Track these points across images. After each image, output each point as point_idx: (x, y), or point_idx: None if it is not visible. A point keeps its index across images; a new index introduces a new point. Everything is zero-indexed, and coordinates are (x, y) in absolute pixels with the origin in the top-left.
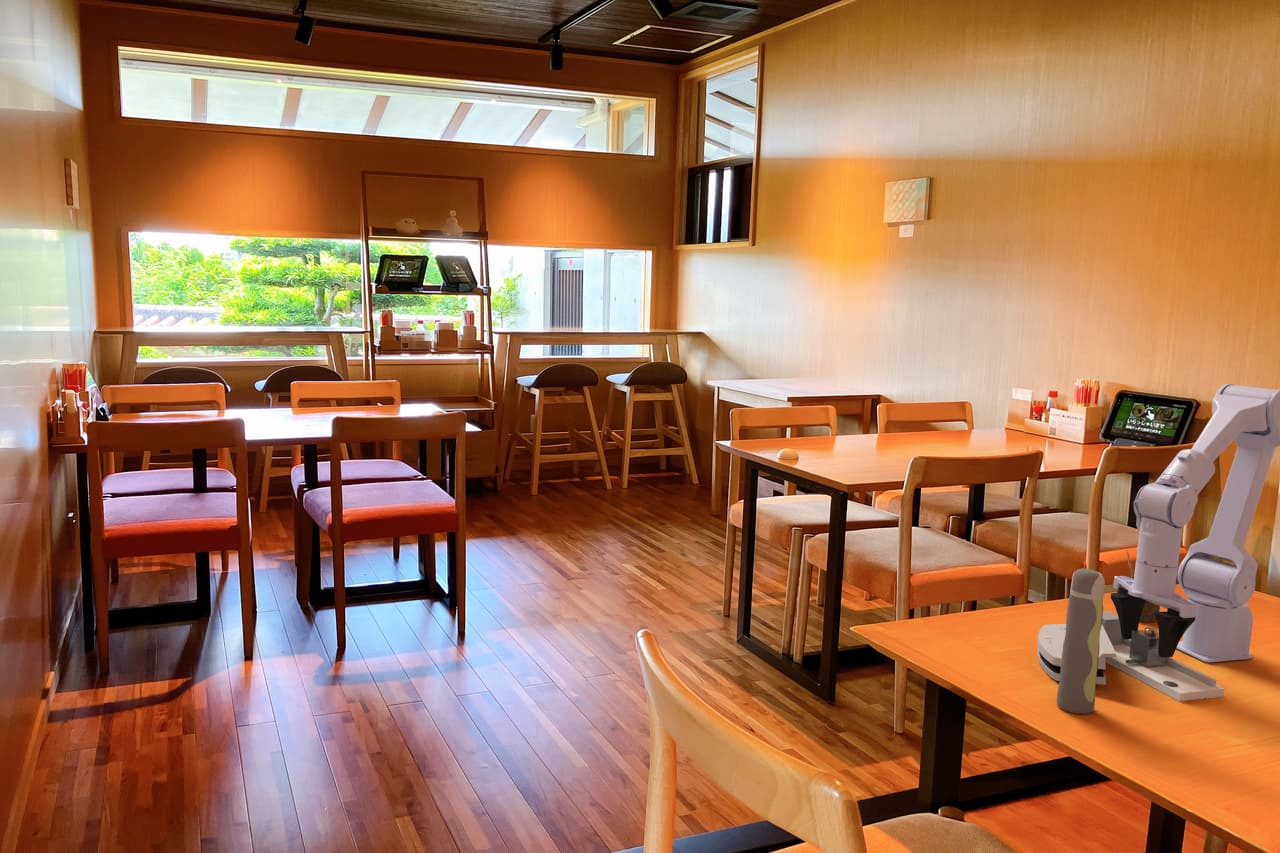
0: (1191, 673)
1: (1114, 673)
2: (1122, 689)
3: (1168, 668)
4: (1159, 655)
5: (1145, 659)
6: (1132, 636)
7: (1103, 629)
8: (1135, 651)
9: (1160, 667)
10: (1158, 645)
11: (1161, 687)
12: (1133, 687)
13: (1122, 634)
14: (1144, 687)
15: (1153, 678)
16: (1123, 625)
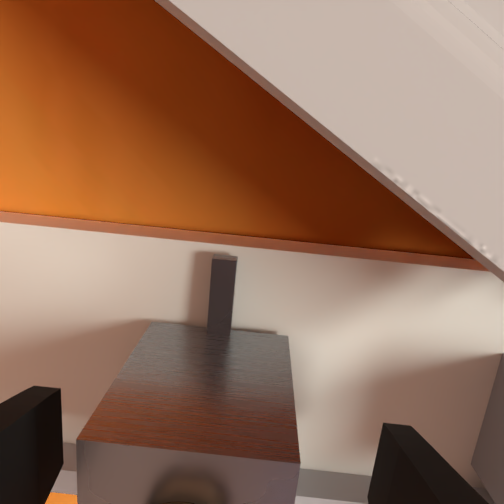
0: None
1: (238, 167)
2: (37, 14)
3: None
4: (50, 389)
5: (154, 340)
6: (285, 425)
7: (434, 198)
8: (240, 358)
9: None
10: (4, 425)
11: None
12: (51, 108)
13: (415, 440)
14: (42, 170)
15: (22, 235)
16: (434, 496)
